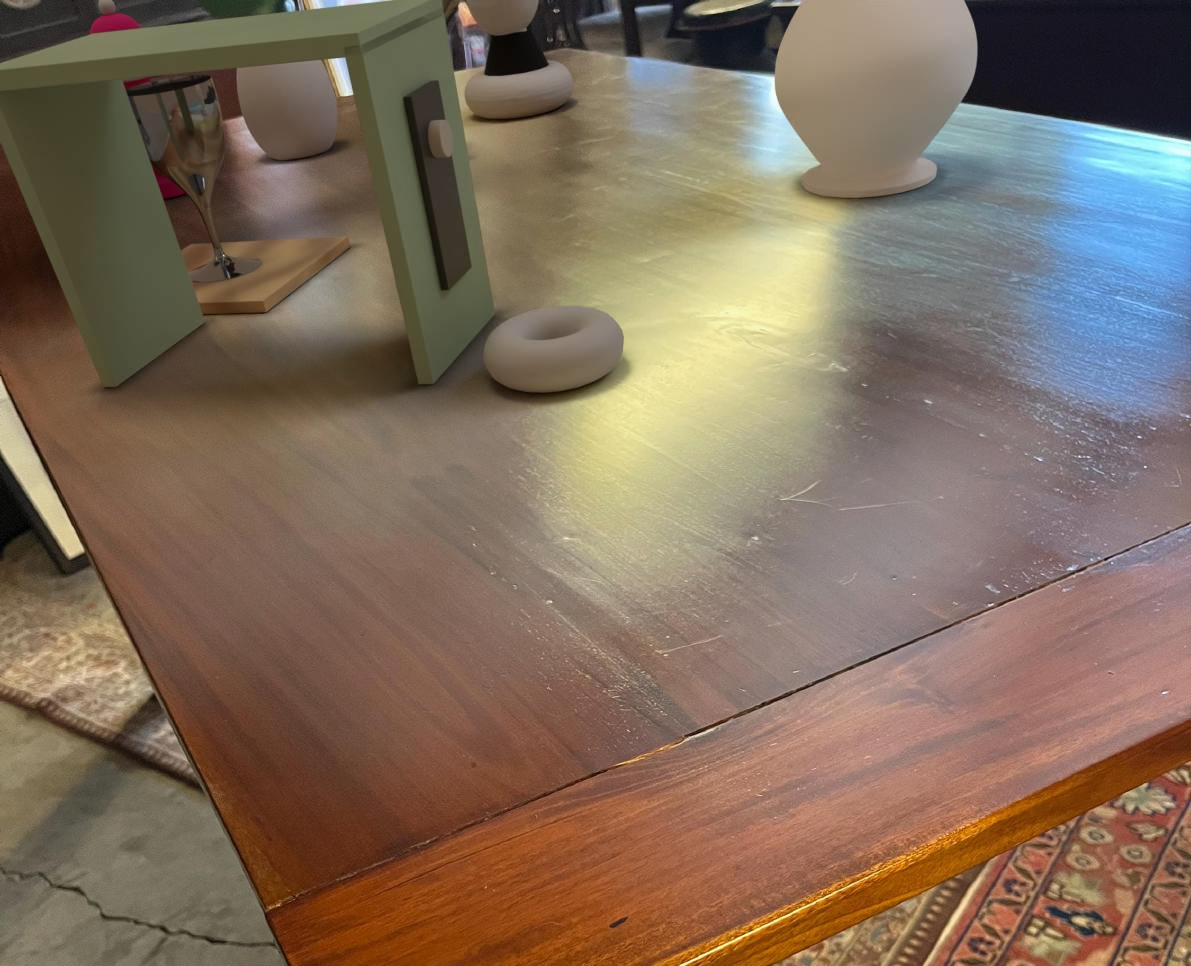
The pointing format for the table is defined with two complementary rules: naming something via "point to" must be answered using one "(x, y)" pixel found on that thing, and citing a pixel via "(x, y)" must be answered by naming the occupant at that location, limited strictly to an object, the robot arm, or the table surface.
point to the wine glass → (188, 153)
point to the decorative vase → (873, 88)
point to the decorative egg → (289, 108)
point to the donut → (553, 348)
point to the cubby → (136, 207)
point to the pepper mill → (124, 22)
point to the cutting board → (261, 271)
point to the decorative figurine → (514, 65)
